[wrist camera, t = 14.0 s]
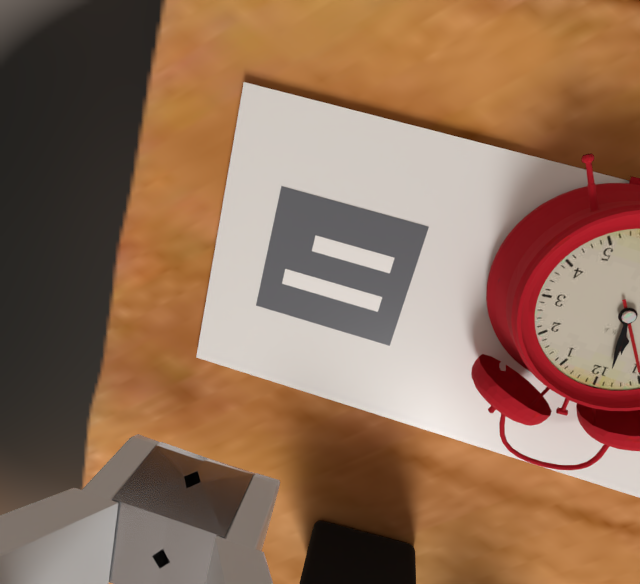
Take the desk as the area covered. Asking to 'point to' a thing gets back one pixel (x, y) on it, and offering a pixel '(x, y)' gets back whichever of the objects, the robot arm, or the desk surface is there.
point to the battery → (356, 558)
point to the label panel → (381, 271)
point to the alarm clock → (570, 315)
